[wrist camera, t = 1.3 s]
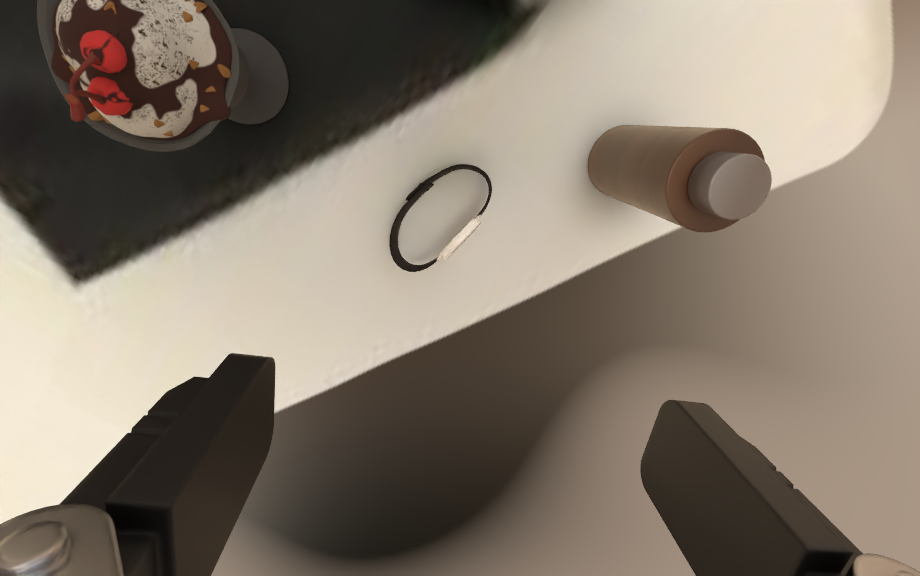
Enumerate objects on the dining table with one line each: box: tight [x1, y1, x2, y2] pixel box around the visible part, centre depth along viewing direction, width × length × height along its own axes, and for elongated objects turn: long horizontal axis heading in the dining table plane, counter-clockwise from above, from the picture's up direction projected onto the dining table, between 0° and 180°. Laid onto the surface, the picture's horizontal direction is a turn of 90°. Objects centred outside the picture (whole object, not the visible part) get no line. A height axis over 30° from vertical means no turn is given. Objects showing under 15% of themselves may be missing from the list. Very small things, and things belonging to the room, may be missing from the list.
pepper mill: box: [588, 125, 771, 232], centre depth 23 cm, size 4×4×12 cm
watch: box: [390, 164, 492, 272], centre depth 27 cm, size 8×5×4 cm, turn 137°
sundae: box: [37, 0, 289, 152], centre depth 19 cm, size 7×7×15 cm
